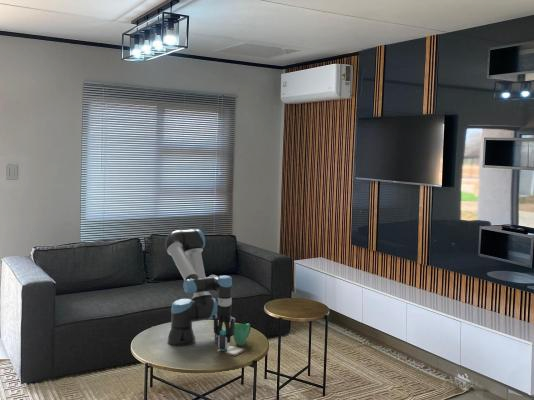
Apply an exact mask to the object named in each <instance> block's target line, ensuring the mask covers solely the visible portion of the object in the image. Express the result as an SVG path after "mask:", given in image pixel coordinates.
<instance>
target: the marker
mask: <svg viewBox="0 0 534 400" xmlns="http://www.w3.org/2000/svg"><path fill="white" fill-rule="evenodd" d="M226 336H227V334H226V328H222V329H221V330H220V351H221V352H226V351H227V349H225V337H226Z"/></svg>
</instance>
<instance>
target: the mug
mask: <svg viewBox="0 0 534 400" xmlns="http://www.w3.org/2000/svg"><path fill="white" fill-rule="evenodd" d="M251 326H252V325H251V324H250V323H235V325H234V335H233V336H232V337H233V340H234V342H235V345H237V346H244V345H245V343H246V341H247V339H248V337H249V334H250V333H251V328H252V327H251Z"/></svg>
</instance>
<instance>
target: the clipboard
mask: <svg viewBox="0 0 534 400" xmlns="http://www.w3.org/2000/svg"><path fill="white" fill-rule="evenodd" d="M246 351H247V349H246V348H242V347H237V346H233V345H230V344H229V348H227V351H226V352H221V351H220V347H217V349H216V350H214V352H215V353H219V354H223V355H226V356H231V357H236V358H237V356H239V355H241V354H242V353H244V352H246Z"/></svg>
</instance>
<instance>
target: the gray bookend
mask: <svg viewBox="0 0 534 400" xmlns="http://www.w3.org/2000/svg"><path fill="white" fill-rule="evenodd" d="M212 343H216V344H218V340H217V334H216V333H214V340H213V342H212Z"/></svg>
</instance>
